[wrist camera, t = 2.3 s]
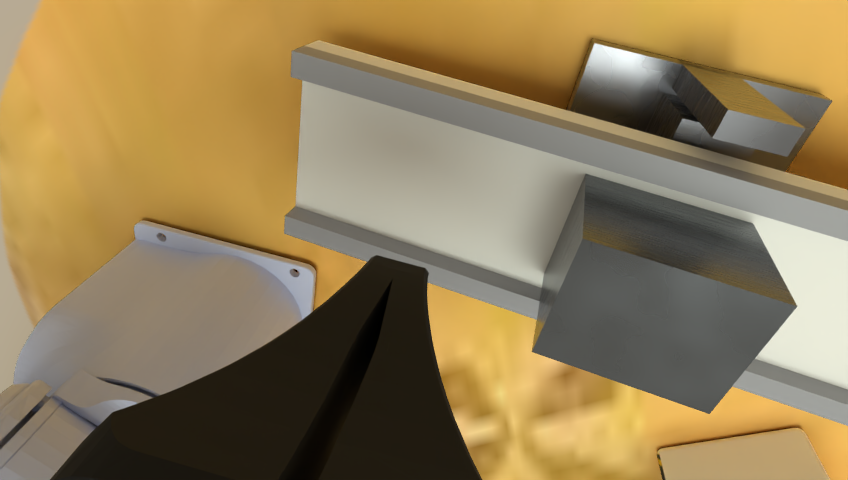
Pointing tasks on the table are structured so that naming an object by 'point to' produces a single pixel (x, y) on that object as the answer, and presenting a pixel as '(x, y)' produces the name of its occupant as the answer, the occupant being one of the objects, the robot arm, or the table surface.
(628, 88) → the pivot stand
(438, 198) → the beam
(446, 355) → the table surface
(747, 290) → the block
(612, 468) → the table surface
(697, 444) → the medicine bottle
